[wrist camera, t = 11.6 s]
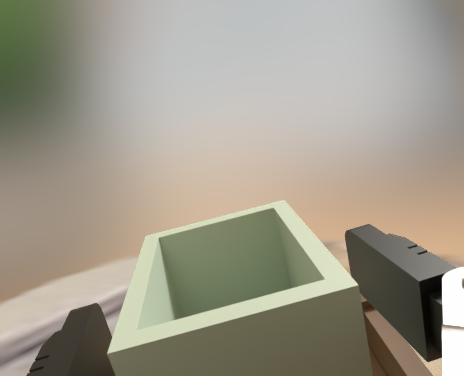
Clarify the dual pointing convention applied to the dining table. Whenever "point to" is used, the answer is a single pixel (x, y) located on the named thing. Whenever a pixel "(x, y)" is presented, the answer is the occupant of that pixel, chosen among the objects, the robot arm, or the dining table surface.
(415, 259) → the robot arm
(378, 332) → the walnut crate
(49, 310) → the dining table surface
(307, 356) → the small square vase
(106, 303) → the dining table surface
